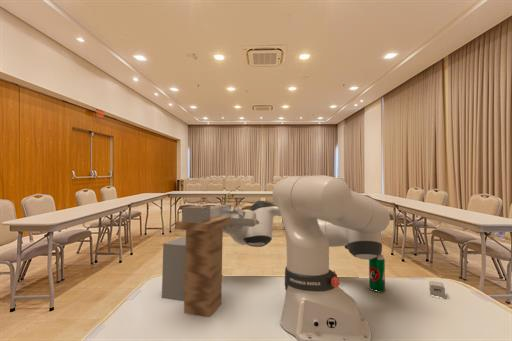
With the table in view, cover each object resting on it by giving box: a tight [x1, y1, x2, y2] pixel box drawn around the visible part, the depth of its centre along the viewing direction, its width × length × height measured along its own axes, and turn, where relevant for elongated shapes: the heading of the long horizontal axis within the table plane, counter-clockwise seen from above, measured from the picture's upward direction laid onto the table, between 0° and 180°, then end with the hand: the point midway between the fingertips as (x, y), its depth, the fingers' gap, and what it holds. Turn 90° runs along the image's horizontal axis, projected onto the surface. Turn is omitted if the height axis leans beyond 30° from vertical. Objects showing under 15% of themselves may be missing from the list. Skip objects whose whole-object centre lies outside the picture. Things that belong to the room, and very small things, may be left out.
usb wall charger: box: [429, 280, 446, 299], centre depth 89 cm, size 4×7×4 cm, turn 150°
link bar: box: [181, 204, 232, 223], centre depth 83 cm, size 6×26×4 cm, turn 165°
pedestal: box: [161, 235, 186, 302], centre depth 91 cm, size 8×16×17 cm, turn 165°
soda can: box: [368, 254, 386, 292], centre depth 93 cm, size 5×5×12 cm
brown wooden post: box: [174, 216, 230, 318], centre depth 78 cm, size 10×16×26 cm, turn 165°
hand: (223, 208), depth 92 cm, fingers open, 7 cm apart
